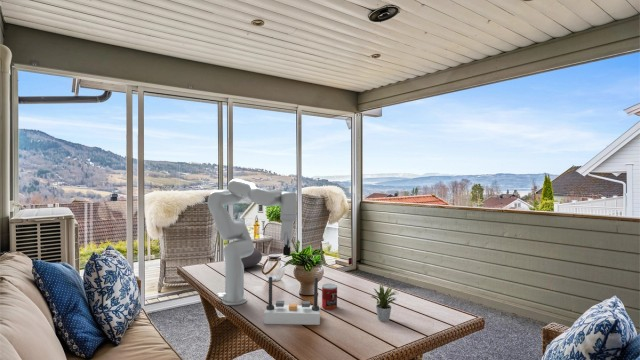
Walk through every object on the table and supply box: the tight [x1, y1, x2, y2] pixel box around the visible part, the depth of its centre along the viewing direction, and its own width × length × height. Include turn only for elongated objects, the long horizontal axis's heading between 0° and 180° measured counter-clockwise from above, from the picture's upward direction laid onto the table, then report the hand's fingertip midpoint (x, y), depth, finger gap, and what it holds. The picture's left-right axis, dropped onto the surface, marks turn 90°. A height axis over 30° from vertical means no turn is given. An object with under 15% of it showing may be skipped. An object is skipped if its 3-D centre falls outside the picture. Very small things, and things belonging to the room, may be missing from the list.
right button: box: [301, 300, 311, 307], centre depth 169 cm, size 4×4×2 cm
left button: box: [275, 300, 285, 307], centre depth 169 cm, size 4×4×2 cm
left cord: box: [265, 276, 275, 310], centre depth 169 cm, size 4×4×15 cm
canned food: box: [321, 283, 338, 311], centre depth 186 cm, size 8×8×11 cm
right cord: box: [311, 277, 321, 311], centre depth 169 cm, size 4×4×15 cm
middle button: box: [288, 303, 298, 310], centre depth 169 cm, size 4×4×2 cm
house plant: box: [370, 284, 398, 323], centre depth 169 cm, size 14×14×16 cm
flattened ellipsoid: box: [241, 247, 263, 269], centre depth 265 cm, size 25×25×15 cm
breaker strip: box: [263, 304, 321, 326], centre depth 169 cm, size 25×10×5 cm, turn 89°
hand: (286, 255), depth 177 cm, fingers closed
